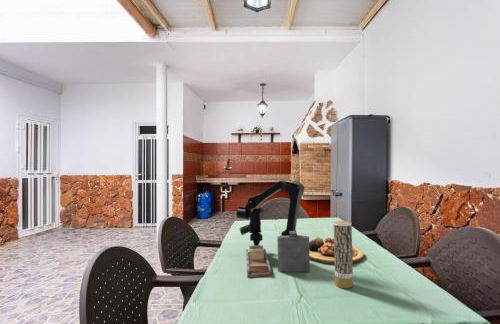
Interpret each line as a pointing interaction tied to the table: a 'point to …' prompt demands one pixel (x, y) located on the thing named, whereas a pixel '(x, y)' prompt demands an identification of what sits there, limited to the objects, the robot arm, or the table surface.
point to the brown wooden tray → (258, 266)
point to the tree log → (343, 254)
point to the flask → (293, 253)
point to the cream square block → (256, 252)
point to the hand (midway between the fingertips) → (256, 249)
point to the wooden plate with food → (329, 251)
